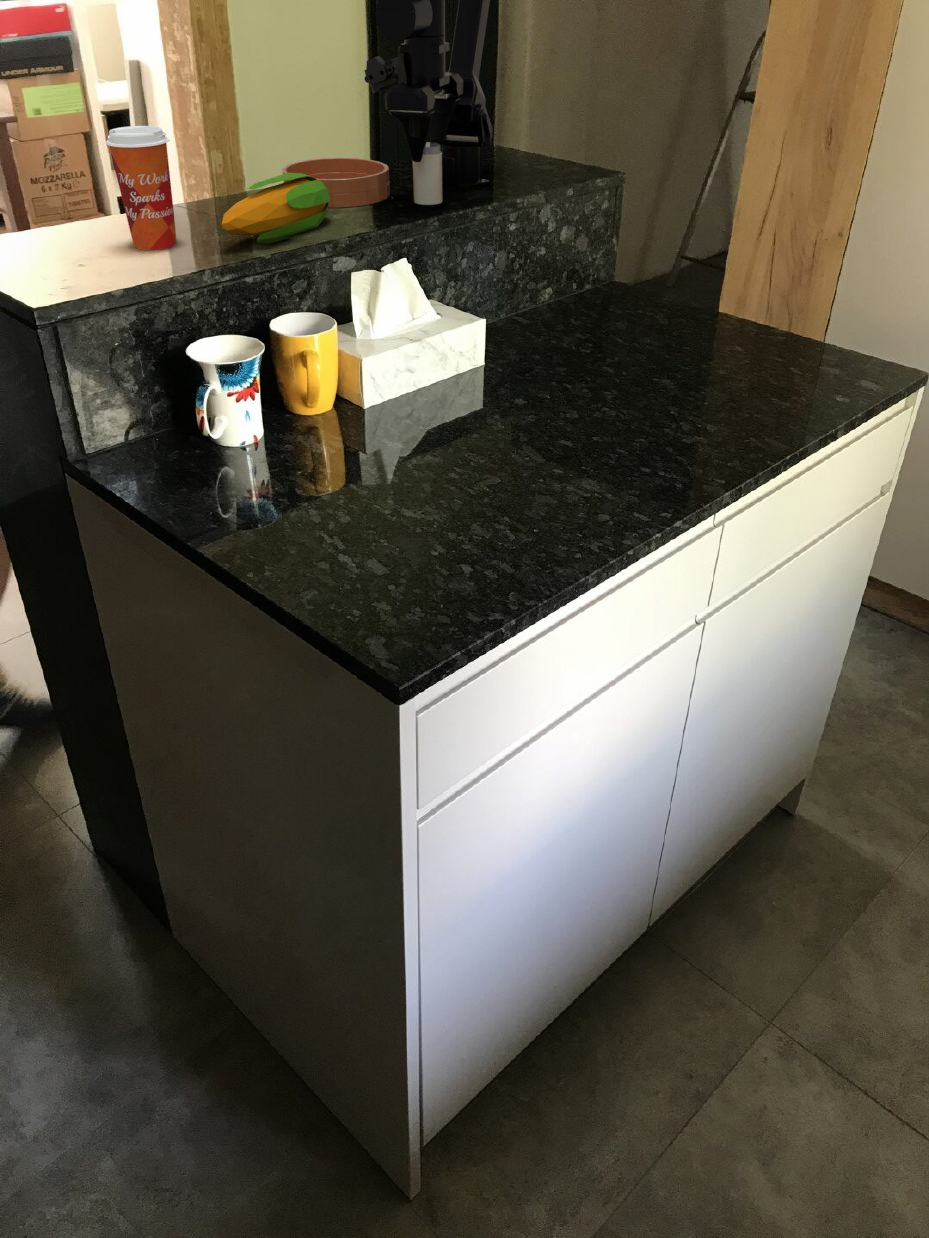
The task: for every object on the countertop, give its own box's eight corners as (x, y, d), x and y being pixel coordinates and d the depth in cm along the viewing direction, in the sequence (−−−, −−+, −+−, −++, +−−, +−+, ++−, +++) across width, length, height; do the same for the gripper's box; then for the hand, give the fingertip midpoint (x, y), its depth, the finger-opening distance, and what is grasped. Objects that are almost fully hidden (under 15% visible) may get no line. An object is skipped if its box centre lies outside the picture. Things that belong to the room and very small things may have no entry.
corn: (340, 166, 138) (240, 193, 124) (347, 224, 142) (251, 256, 129) (300, 164, 142) (198, 191, 128) (308, 220, 146) (210, 252, 132)
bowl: (342, 183, 165) (340, 153, 162) (411, 199, 156) (410, 168, 153) (264, 200, 155) (260, 169, 152) (332, 217, 146) (329, 185, 143)
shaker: (428, 200, 155) (427, 141, 150) (448, 205, 152) (448, 144, 147) (407, 205, 152) (406, 144, 147) (428, 210, 150) (427, 148, 145)
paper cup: (126, 254, 130) (103, 137, 122) (125, 239, 136) (104, 126, 128) (187, 249, 132) (169, 134, 124) (183, 235, 138) (166, 123, 130)
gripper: (392, 28, 148) (396, 142, 157) (346, 39, 134) (353, 165, 143) (464, 30, 146) (464, 146, 155) (425, 42, 131) (427, 169, 140)
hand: (426, 156), depth 148 cm, fingers open, 9 cm apart
